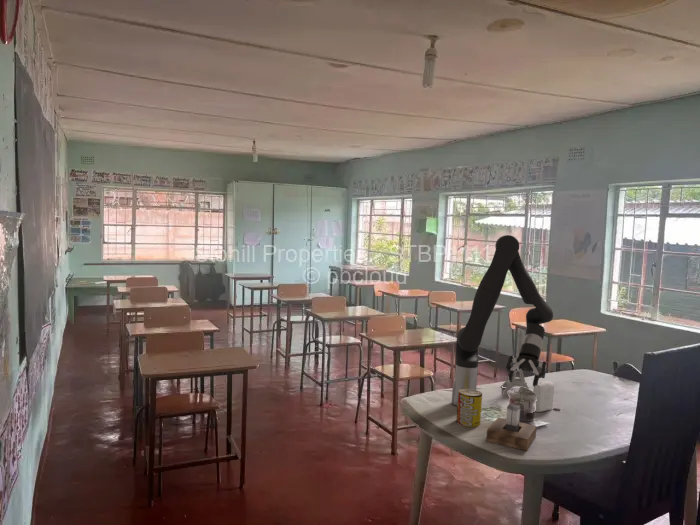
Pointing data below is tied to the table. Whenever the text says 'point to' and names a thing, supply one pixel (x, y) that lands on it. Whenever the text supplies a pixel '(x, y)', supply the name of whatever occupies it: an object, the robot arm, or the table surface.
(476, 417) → the yellow tin can
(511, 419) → the white grey tall block
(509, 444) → the stand
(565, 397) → the table surface
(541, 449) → the table surface
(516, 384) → the eiffel tower
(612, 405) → the table surface
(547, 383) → the white rounded slab
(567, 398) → the table surface
